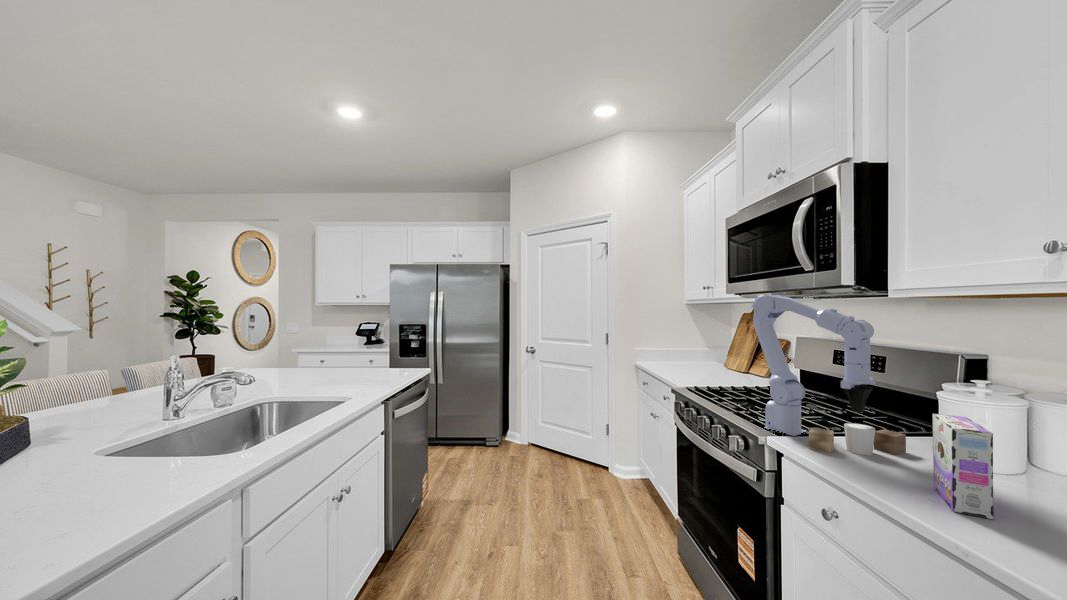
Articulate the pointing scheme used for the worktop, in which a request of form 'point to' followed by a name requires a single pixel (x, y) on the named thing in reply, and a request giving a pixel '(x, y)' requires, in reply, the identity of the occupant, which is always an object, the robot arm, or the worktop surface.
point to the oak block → (821, 440)
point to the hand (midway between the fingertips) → (857, 412)
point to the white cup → (859, 438)
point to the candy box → (963, 464)
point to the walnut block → (890, 442)
